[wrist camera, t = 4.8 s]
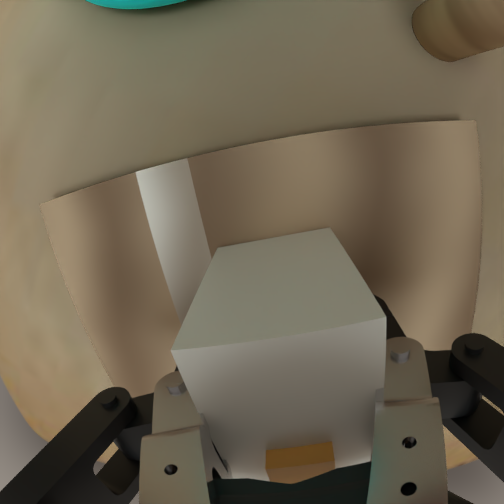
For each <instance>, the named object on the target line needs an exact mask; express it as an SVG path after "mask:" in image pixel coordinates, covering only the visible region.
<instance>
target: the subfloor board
mask: <svg viewBox="0 0 504 504" xmlns="http://www.w3.org/2000/svg"><path fill="white" fill-rule="evenodd" d="M39 206H40V209H41V213H42V216H43V220H44V223H45V226H46V230H47V233H48V236H49V239H50V242H51V245H52V248H53V251H54V254H55V257H56V260H57V263H58V265H59V268H60V271H61V274H62V276H63V279H64V281H65V284H66V286H67V289H68V291H69V294H70V296H71V299H72V301H73V304H74V306H75V308H76V311H77V313H78V315H79V317H80V320H81V322H82V324H83V326H84V328H85V331H86V333H87V335H88V337H89V339H90V341H91V343H92V345H93V347H94V349H95V351H96V353H97V355H98V357H99V359H100V361H101V363H102V365H103V367H104V368H105V370H106V372H107V374H108V376H109V378H110V379H111V381H112V383H113V385H114V387H122V388H125V389H126V390H128V392H129V393H130V395H131V397H132V398H134V397H138V396H142V395H146V394H150V393H153V392H154V388H155V385H156V384H157V382H158V381H159V380H160V379H161V378H162V377H164V376H165V375H167V374H169V373H172V372H174V371H175V369H176V366H177V365H176V362H175V360H174V358H173V355H172V353H171V348H172V346H173V344H174V342H175V339H176V337H177V335H178V333H179V330H180V328H181V326H182V324H183V321H184V319H185V317H186V315H187V313H188V310H189V308H190V306H191V304H192V302H193V299H194V297H195V295H196V293H197V291H198V289H199V286H200V284H201V282H202V280H203V278H204V276H205V273H206V271H207V269H208V267H209V265H210V263H211V261H212V259H213V256H214V254H215V252H216V250H217V248H219V247H225V246H230V245H235V244H241V243H246V242H252V241H257V240H262V239H268V238H273V237H279V236H284V235H290V234H295V233H301V232H307V231H312V230H318V229H323V228H329V227H330V228H331V230H332V231H333V233H334V234H335V236H336V237H337V239H338V240H339V242H340V243H341V245H342V246H343V248H344V249H345V251H346V252H347V254H348V256H349V257H350V259H351V260H352V262H353V263H354V265H355V266H356V268H357V270H358V271H359V273H360V274H361V276H362V278H363V279H364V281H365V282H366V284H367V286H368V287H369V289H370V290H371V292H372V294H373V295H376V296H378V297H379V298H381V299H383V300H384V301H385V303H386V304H387V306H388V308H389V310H390V311H391V312H392V314H393V316H394V317H395V319H396V320H397V322H398V324H399V325H400V327H401V329H402V330H403V332H404V334H405V335H406V337H409V338H412V339H415V340H417V341H418V342H420V343H421V344H422V346H423V348H424V350H429V351H440V350H451V347H452V343H453V342H454V340H455V339H456V338H458V337H459V336H461V335H464V334H469V333H471V329H472V324H473V318H474V312H475V305H476V298H477V290H478V281H479V271H480V259H481V243H482V179H481V162H480V150H479V141H478V132H477V124H476V120H460V121H429V122H412V123H397V124H385V125H374V126H364V127H355V128H347V129H339V130H331V131H323V132H316V133H310V134H303V135H297V136H291V137H285V138H279V139H273V140H268V141H262V142H257V143H252V144H247V145H242V146H237V147H232V148H228V149H223V150H219V151H214V152H210V153H205V154H201V155H197V156H193V157H189V158H185V159H181V160H177V161H173V162H169V163H166V164H162V165H158V166H154V167H151V168H147V169H144V170H140V171H137V172H134V173H130V174H127V175H124V176H120V177H117V178H114V179H111V180H107V181H104V182H101V183H98V184H95V185H92V186H89V187H86V188H83V189H80V190H78V191H75V192H72V193H69V194H66V195H63V196H61V197H58V198H55V199H53V200H50V201H47V202H45V203H42V204H40V205H39Z"/></svg>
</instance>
